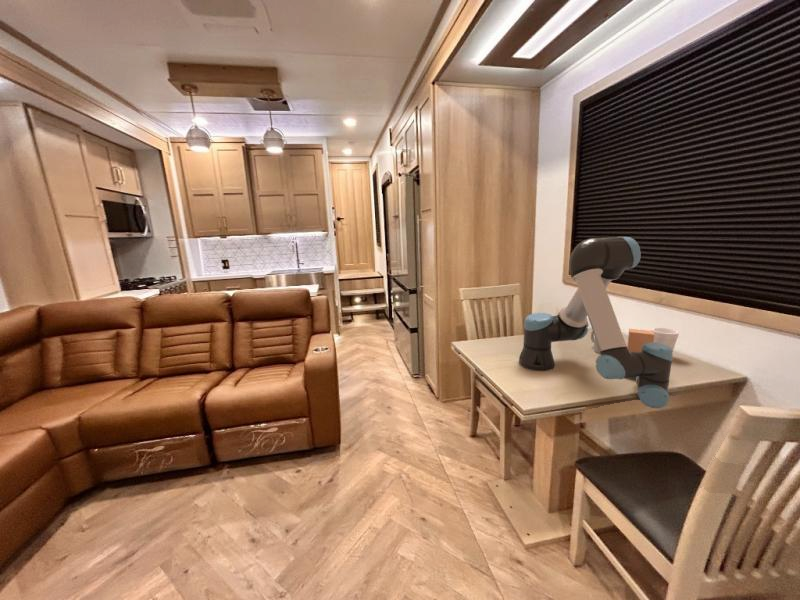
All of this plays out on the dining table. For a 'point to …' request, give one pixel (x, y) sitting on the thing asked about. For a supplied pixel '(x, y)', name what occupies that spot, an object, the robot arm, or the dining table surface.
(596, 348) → the mug
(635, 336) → the large orange block
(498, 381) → the dining table surface
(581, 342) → the dining table surface
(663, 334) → the foam cup
